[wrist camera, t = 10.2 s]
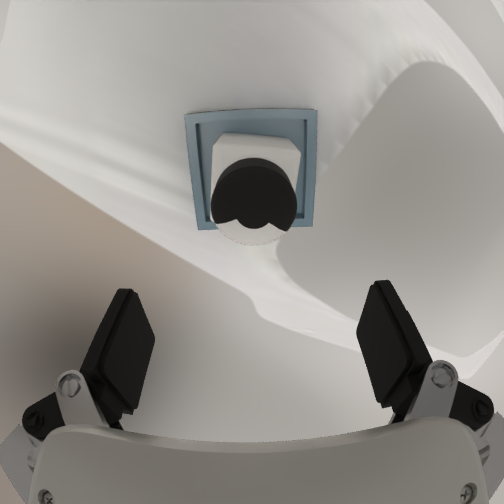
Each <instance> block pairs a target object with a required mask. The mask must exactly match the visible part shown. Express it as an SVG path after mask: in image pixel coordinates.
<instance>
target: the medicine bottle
mask: <svg viewBox="0 0 504 504" xmlns="http://www.w3.org/2000/svg"><path fill="white" fill-rule="evenodd" d="M300 158H301V153H300V151H299V150H298V149H297V148H296V146H295V145H294V144H293V143H292V142H291V140H290V139H289V138H284V137H275V136H266V135H255V134H243V133H227V132H224V133H222V134H221V135H220V137H219V138H218V140H217V141H216V142H215V144H214V145H213V153H212V175H211V205H210V219H211V221H212V222H215V224H216V226H217V227H218V229H219V230H220V231H221V232H222V233H223V234H224V235H225V236H227V237H228V238H230V239H231V240H233V241H235V242H238V243H241V244H245V245H262V244H266V243H270V242H272V241H274V240H276V239H278V238H280V237H281V236H282V235H284V234H285V233H286V232H287V231H288V229H289V228H290V227H291V225H292V224H293V222H294V219H295V217H296V213H297V198H296V194H295V190H296V184H297V177H298V171H299V164H300Z"/></svg>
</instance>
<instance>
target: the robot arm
mask: <svg viewBox="0 0 504 504" xmlns="http://www.w3.org/2000/svg"><path fill="white" fill-rule="evenodd" d="M356 334H357V339H358V342H359V345H360V348H361V351H362V354H363V357H364V360H365V363H366V367H367V370H368V373H369V377H370V380H371V383H372V387H373V390H374V394H375V397H376V400H377V402H378V403H381V406H382V408H386V407H390V406H392V409H393V412H394V413H393V415H392V417H391V420H390V421H389V423H388V425H385V426H382V427H377V428H373V429H368V430H362V431H357V432H352V433H347V434H341V435H335V436H328V437H321V438H313V439H304V440H292V441H278V442H252V443H251V442H250V443H237V442H209V441H195V440H184V439H175V438H174V439H173V438H166V437H159V436H153V435H146V434H140V433H134V432H129V431H127V430H126V428H125V426H124V424H123V422H122V420H121V417H122V413H125V414H130V415H133V411H134V409H137V407H138V404H139V399H140V396H141V391H142V388H143V383H144V379H145V376H146V372H147V368H148V365H149V361H150V357H151V353H152V350H153V346H154V343H155V336H154V333H153V331H152V329H151V326H150V324H149V322H148V319H147V317H146V314H145V312H144V309H143V307H142V304H141V302H140V299H139V297H138V294H137V293H136V292H134V291H133V290H132V289H118V290H117V292H116V294H115V296H114V298H113V300H112V302H111V304H110V306H109V308H108V310H107V312H106V314H105V316H104V318H103V320H102V322H101V323H100V326H99V328H98V330H97V332H96V334H95V336H94V339H93V341H92V343H91V345H90V347H89V350H88V352H87V354H86V357H85V359H84V361H83V364H82V366H81V369H80V371H75V370H70V371H66V372H64V373H63V374H61V376H60V377H59V378H58V379H57V381H56V384H55V392H54V393H52V394H51V395H49V396H47V397H45V398H43V399H42V400H40V401H38V402H36V403H35V404H33V405H32V406H30V407H28V408H27V409H26V410H25V412H24V414H23V418H22V423H23V424H22V425H20V424H18V426H16V428H15V429H14V430H13V431H12V432H11V433H10V434H9V435H8V437H7V438H6V439H5V440H4V441H3V442H2V444H0V464H1V466H2V468H3V470H4V471H5V473H6V475H7V476H8V478H9V479H10V481H11V483H12V484H13V486H14V488H15V489H16V491H17V492H18V493H19V495H20V496H21V498H22V499H23V501H24V502H25V503H26V504H489V499H490V498H491V497H492V495H493V494H494V492H495V491H496V489H497V488H498V486H499V485H500V483H501V482H502V480H503V478H504V418H503V417H502V416H501V415H500V414H499V413H498V412H496V413H494V407H493V403H492V401H491V399H490V398H489V397H488V396H487V395H485V394H483V393H481V392H479V391H477V390H475V389H473V388H471V387H470V386H468V385H466V384H464V383H462V382H460V381H458V374H457V371H456V369H455V367H454V366H453V365H452V364H450V363H449V362H447V361H444V360H437V361H434V362H433V361H432V358H431V356H430V354H429V352H428V350H427V348H426V346H425V344H424V341H423V339H422V338H421V335H420V333H419V332H418V330H417V327H416V325H415V323H414V322H413V320H412V318H411V316H410V314H409V312H408V311H407V310H406V309H405V307H404V305H403V303H402V301H401V300H400V298H399V296H398V295H397V292H396V291H395V289H394V287H393V285H392V284H391V282H390V281H389V280H380V281H375V282H374V284H373V285H371V286H370V289H369V292H368V295H367V299H366V302H365V305H364V308H363V311H362V315H361V318H360V321H359V324H358V327H357V331H356Z"/></svg>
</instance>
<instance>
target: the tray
mask: <svg viewBox="0 0 504 504" xmlns="http://www.w3.org/2000/svg"><path fill="white" fill-rule="evenodd" d="M185 126H186V137H187V147H188V156H189V165H190V173H191V182H192V190H193V197H194V205H195V212H196V219H197V226H198V230H213V229H218V227H217V226H216V224H215V222H212V221H211V219H210V205H211V175H212V153H213V145H214V144H215V142H216V141H217V140H218V138H219V137H220V135H221V134H222V133H224V132H227V133H243V134H255V135H266V136H275V137H284V138H289V139H290V140H291V142H292V143H293V144H294V145H295V146H296V148H297V149H298V150H299V151H300V153H301V158H300V164H299V171H298V177H297V184H296V190H295V194H296V198H297V213H296V217H295V219H294V222H293V224H292V225H291V227H308V226H313V212H314V211H313V210H314V195H315V177H316V152H317V110H314V109H287V108H268V109H238V110H222V111H210V112H200V113H191V114H187V115H185Z"/></svg>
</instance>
